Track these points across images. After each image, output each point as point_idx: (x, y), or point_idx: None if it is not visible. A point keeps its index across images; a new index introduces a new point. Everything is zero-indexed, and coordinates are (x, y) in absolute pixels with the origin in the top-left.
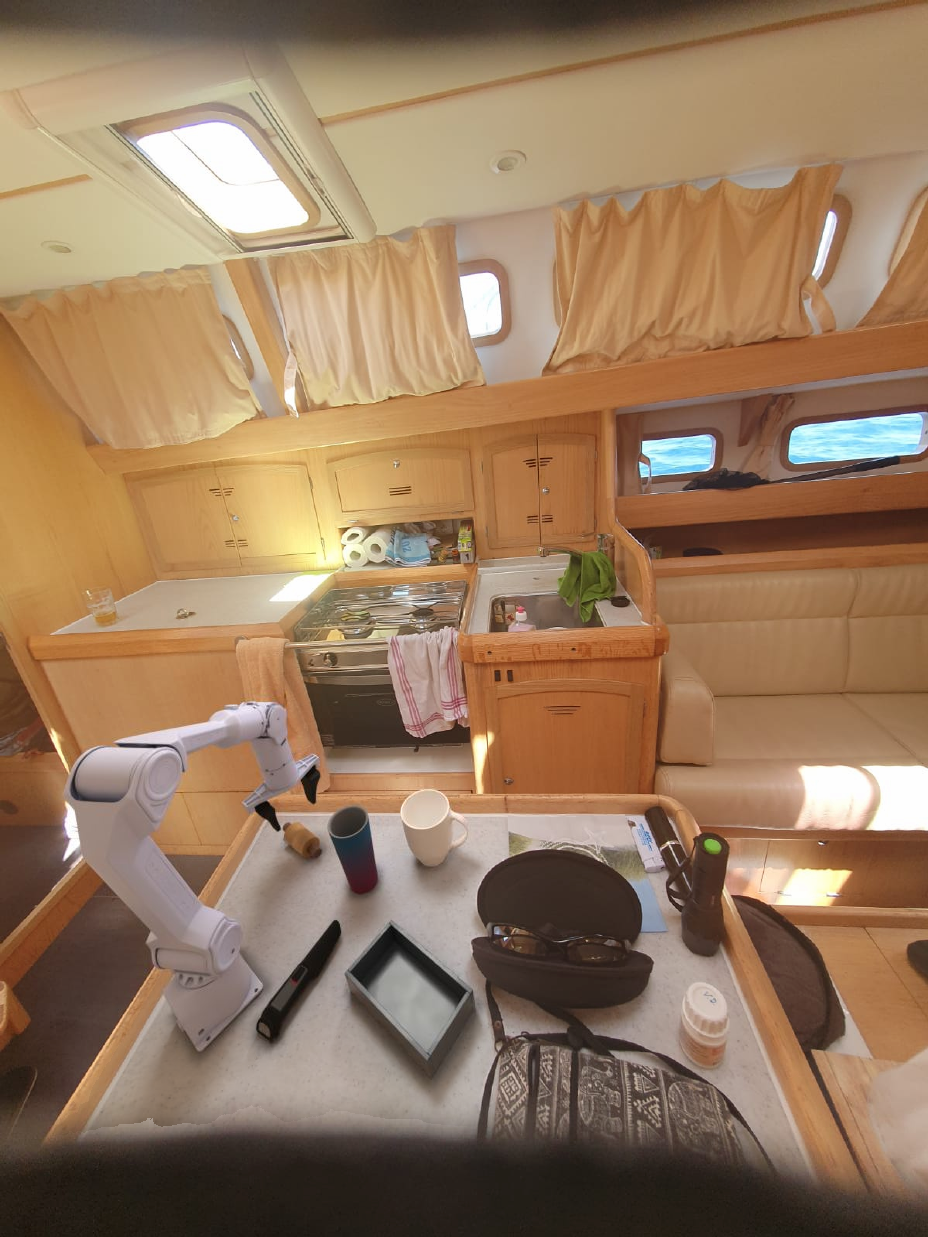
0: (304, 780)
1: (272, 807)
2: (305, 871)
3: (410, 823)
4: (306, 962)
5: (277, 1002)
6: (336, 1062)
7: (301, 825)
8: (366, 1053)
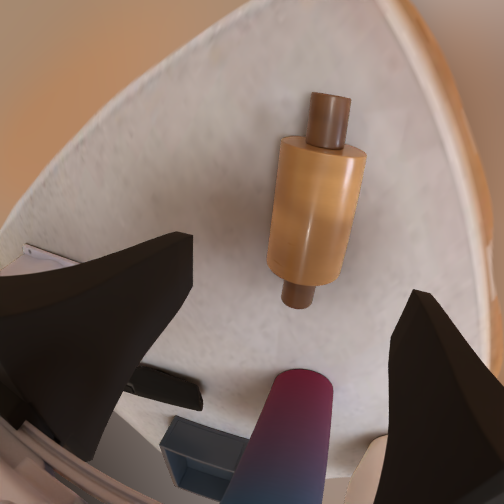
0: (413, 483)
1: (78, 453)
2: (256, 262)
3: None
4: (137, 393)
5: None
6: (137, 416)
7: (349, 189)
8: (159, 432)
